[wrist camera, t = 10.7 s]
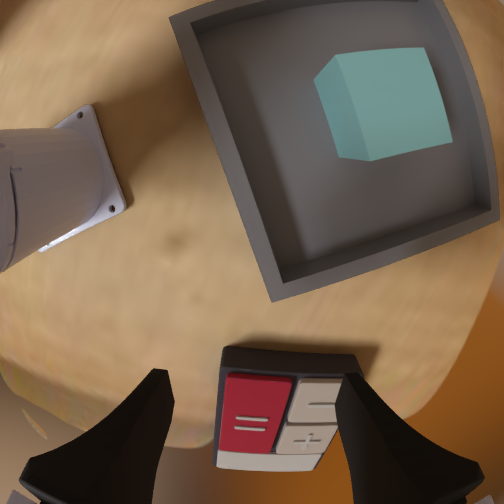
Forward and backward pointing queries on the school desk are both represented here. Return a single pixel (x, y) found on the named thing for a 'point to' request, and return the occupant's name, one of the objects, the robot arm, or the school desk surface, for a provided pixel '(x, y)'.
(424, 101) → the teal cube
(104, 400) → the school desk surface
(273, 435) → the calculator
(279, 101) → the charcoal tray
